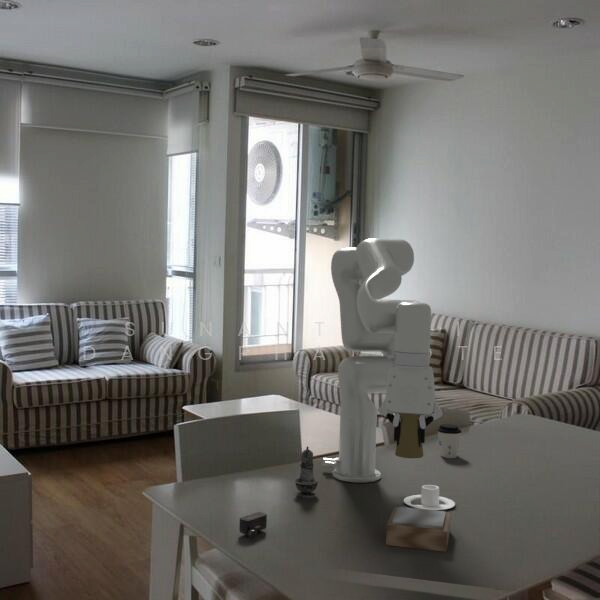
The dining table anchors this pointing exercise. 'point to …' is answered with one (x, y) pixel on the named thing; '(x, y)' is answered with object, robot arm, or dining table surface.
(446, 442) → the coffee cup
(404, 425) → the cork
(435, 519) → the wooden framed mirror
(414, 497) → the candle holder
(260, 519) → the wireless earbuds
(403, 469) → the dining table surface
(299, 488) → the dark grey tiered figure
